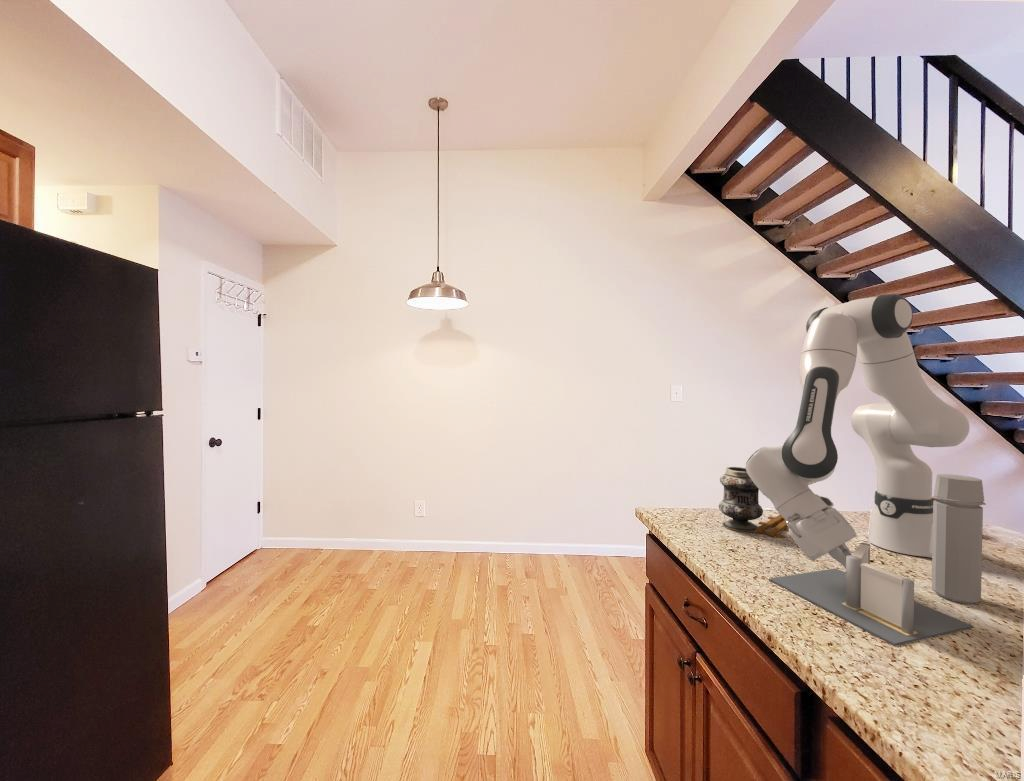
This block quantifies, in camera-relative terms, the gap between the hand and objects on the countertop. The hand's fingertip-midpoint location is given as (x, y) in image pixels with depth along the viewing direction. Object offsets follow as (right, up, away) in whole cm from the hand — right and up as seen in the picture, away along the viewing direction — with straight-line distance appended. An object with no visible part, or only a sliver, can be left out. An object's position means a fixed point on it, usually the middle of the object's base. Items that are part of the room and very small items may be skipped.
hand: (853, 568), depth 92 cm
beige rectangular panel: (0, -4, -2) cm, 5 cm away
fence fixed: (-5, -5, -11) cm, 13 cm away
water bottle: (+20, -5, -2) cm, 21 cm away
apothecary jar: (-3, -4, +41) cm, 41 cm away
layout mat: (-2, -5, -4) cm, 7 cm away
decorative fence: (+10, -5, +42) cm, 43 cm away
